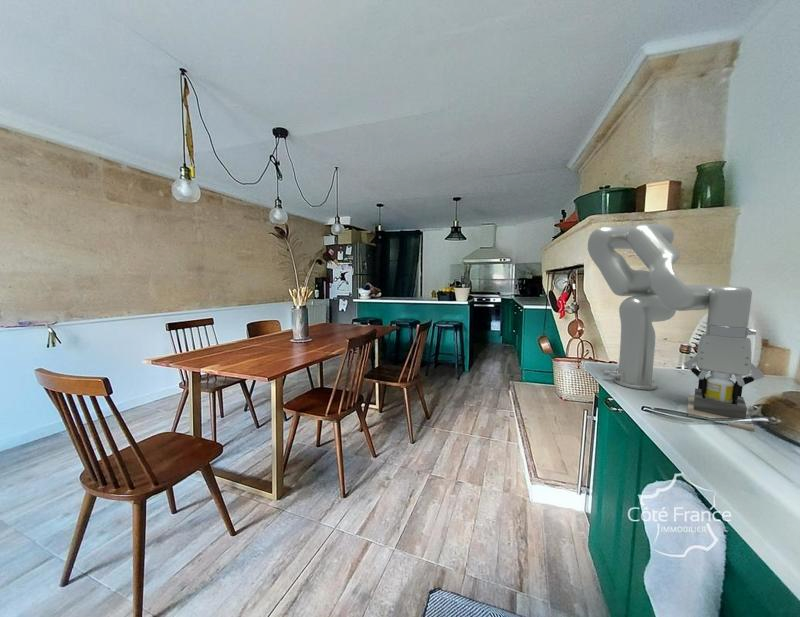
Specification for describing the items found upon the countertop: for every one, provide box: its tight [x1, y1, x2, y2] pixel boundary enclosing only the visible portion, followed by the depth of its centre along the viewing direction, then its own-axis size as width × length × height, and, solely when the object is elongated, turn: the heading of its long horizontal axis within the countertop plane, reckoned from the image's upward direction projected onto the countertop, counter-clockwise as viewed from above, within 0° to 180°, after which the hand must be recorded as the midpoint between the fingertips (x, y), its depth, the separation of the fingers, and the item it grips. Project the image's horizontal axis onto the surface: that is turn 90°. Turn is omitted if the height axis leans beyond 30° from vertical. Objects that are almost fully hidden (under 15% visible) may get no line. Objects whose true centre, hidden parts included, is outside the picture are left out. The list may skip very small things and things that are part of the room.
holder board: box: [686, 388, 755, 432], centre depth 83 cm, size 16×12×4 cm
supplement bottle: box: [704, 371, 735, 404], centre depth 82 cm, size 5×5×10 cm
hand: (718, 394), depth 83 cm, fingers open, 5 cm apart
